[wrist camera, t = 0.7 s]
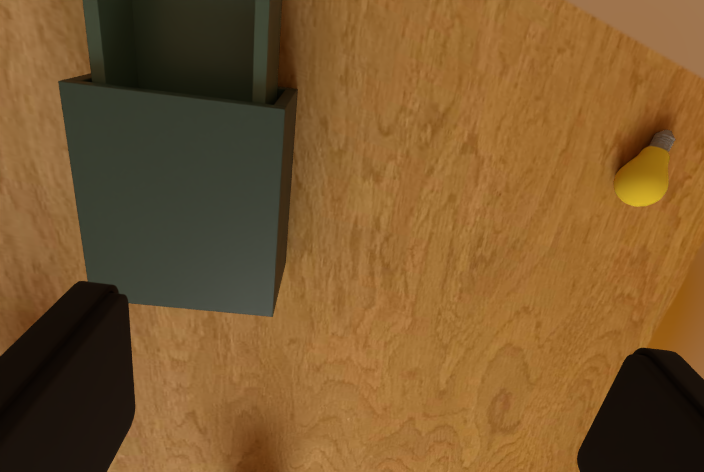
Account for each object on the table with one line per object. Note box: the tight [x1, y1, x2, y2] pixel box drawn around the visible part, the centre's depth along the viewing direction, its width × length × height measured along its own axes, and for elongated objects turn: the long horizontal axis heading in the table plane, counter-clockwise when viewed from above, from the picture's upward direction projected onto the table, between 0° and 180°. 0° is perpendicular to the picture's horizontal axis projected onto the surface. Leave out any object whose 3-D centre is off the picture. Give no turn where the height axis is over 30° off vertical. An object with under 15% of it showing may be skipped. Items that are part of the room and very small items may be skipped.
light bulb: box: [614, 130, 675, 206], centre depth 35 cm, size 3×6×4 cm, turn 154°
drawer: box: [83, 0, 282, 105], centre depth 28 cm, size 15×11×6 cm
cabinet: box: [58, 74, 298, 317], centre depth 32 cm, size 15×13×8 cm
